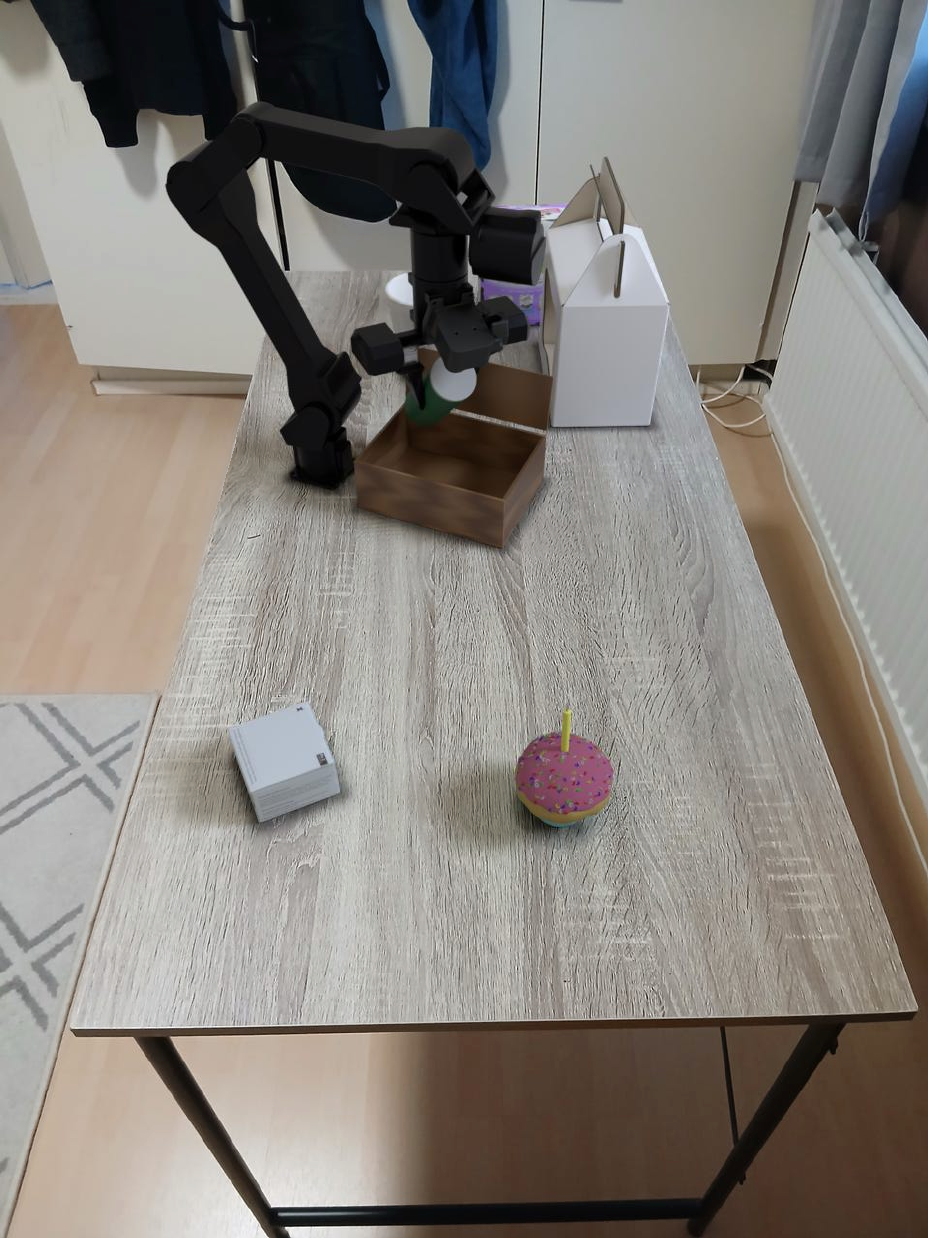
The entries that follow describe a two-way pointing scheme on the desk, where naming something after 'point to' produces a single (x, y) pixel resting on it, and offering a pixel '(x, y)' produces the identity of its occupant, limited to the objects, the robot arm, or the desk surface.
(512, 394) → the flap
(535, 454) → the snack box
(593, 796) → the cupcake
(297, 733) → the small box
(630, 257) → the gable box
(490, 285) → the candy box
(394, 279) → the cup
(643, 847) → the desk surface
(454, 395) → the crisps tube
